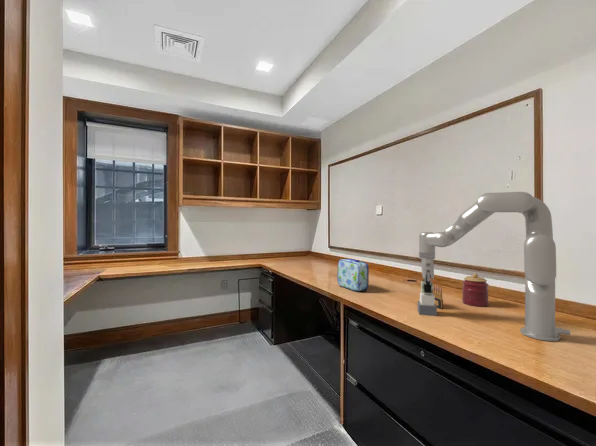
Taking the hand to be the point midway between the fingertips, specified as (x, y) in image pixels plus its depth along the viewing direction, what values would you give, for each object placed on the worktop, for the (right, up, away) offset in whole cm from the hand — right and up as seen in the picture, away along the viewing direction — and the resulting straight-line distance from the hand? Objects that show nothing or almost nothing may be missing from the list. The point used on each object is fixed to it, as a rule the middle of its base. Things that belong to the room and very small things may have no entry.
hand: (426, 290), depth 146 cm
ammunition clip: (+10, -12, +13) cm, 20 cm away
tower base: (0, -12, 0) cm, 12 cm away
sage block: (0, -1, 0) cm, 1 cm away
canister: (+36, -12, +18) cm, 42 cm away
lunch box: (-28, -12, +54) cm, 62 cm away
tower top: (0, -7, 0) cm, 7 cm away
